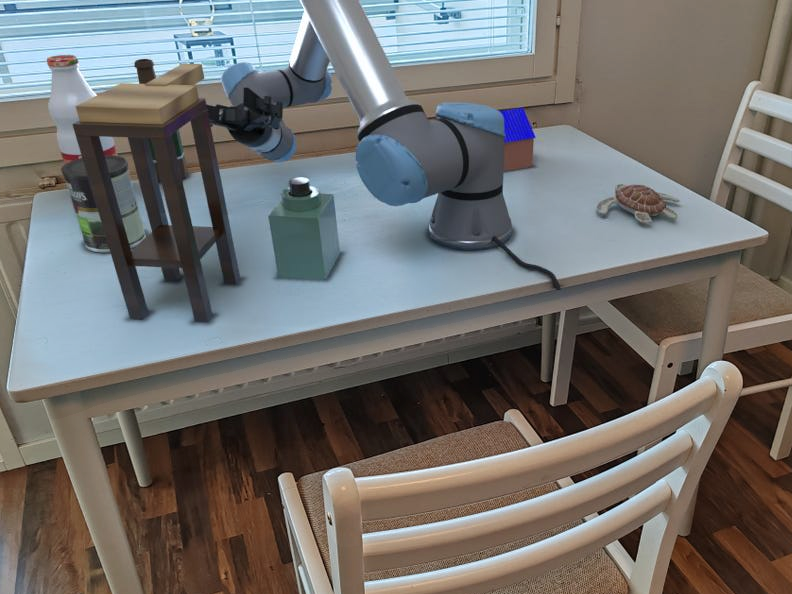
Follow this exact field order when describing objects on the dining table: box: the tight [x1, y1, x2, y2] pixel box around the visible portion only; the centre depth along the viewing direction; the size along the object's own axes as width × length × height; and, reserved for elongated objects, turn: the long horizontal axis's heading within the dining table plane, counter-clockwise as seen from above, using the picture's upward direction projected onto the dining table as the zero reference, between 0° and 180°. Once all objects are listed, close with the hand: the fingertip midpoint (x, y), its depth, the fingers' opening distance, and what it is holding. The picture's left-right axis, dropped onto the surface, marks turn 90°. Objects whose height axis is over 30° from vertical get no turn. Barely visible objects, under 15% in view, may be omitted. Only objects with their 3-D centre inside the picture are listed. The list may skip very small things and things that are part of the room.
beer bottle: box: [133, 58, 188, 183], centre depth 154 cm, size 8×8×24 cm
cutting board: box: [76, 63, 205, 125], centre depth 104 cm, size 24×11×2 cm, turn 175°
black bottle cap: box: [288, 176, 311, 197], centre depth 118 cm, size 3×3×2 cm
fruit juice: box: [46, 54, 118, 165], centre depth 138 cm, size 9×9×28 cm
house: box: [499, 107, 536, 173], centre depth 165 cm, size 12×20×12 cm, turn 117°
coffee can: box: [60, 155, 147, 254], centre depth 129 cm, size 10×10×14 cm
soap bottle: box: [267, 185, 341, 281], centre depth 122 cm, size 10×8×13 cm
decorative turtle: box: [595, 183, 681, 224], centre depth 145 cm, size 18×17×5 cm
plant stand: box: [72, 97, 241, 323], centre depth 108 cm, size 14×12×29 cm
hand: (204, 94), depth 118 cm, fingers open, 13 cm apart
